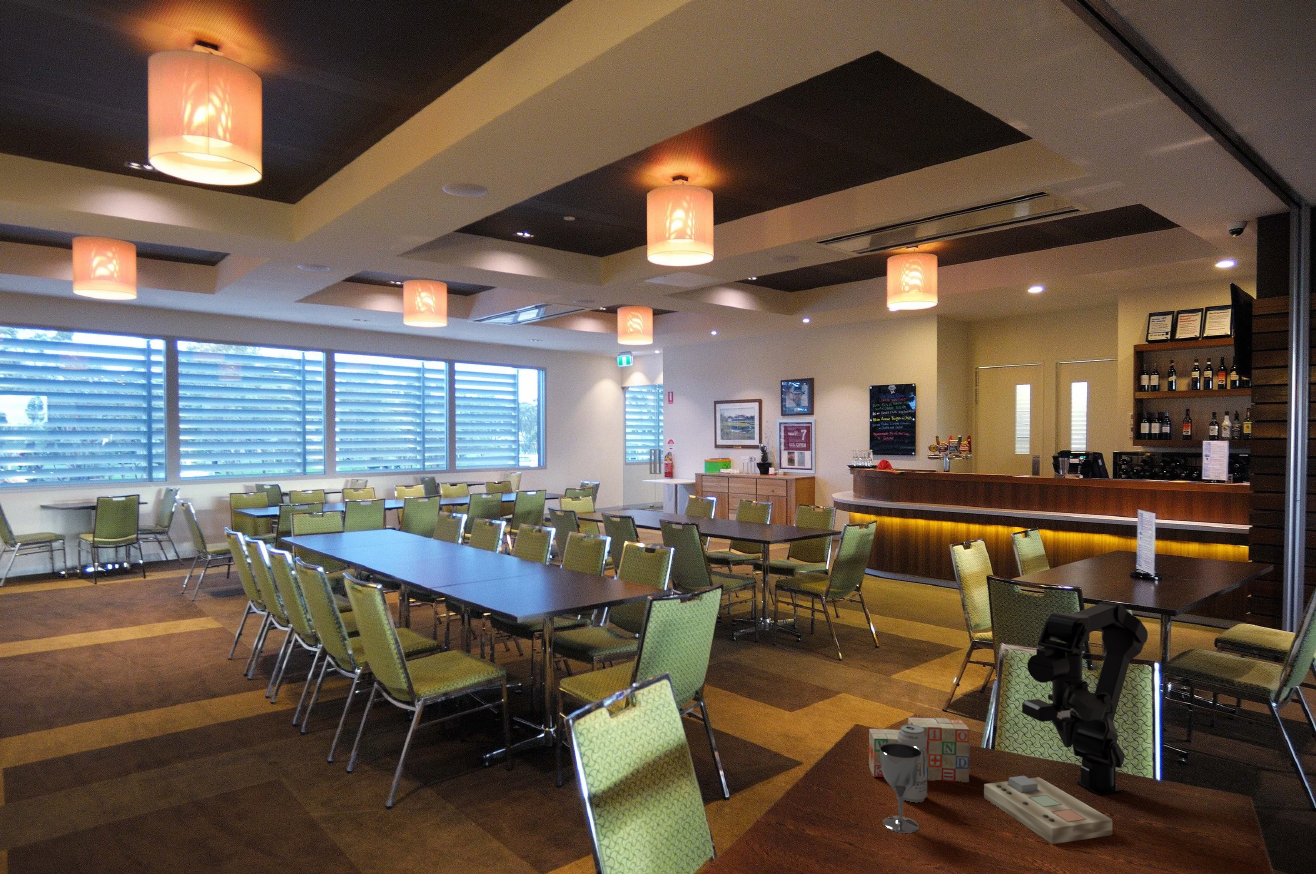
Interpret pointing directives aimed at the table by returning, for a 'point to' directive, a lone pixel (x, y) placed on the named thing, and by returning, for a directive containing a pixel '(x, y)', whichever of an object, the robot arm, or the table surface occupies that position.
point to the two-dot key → (1068, 816)
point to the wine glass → (900, 779)
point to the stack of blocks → (931, 748)
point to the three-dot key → (1023, 784)
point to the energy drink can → (918, 739)
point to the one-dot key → (1045, 801)
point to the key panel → (1048, 812)
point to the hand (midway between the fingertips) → (1067, 746)
